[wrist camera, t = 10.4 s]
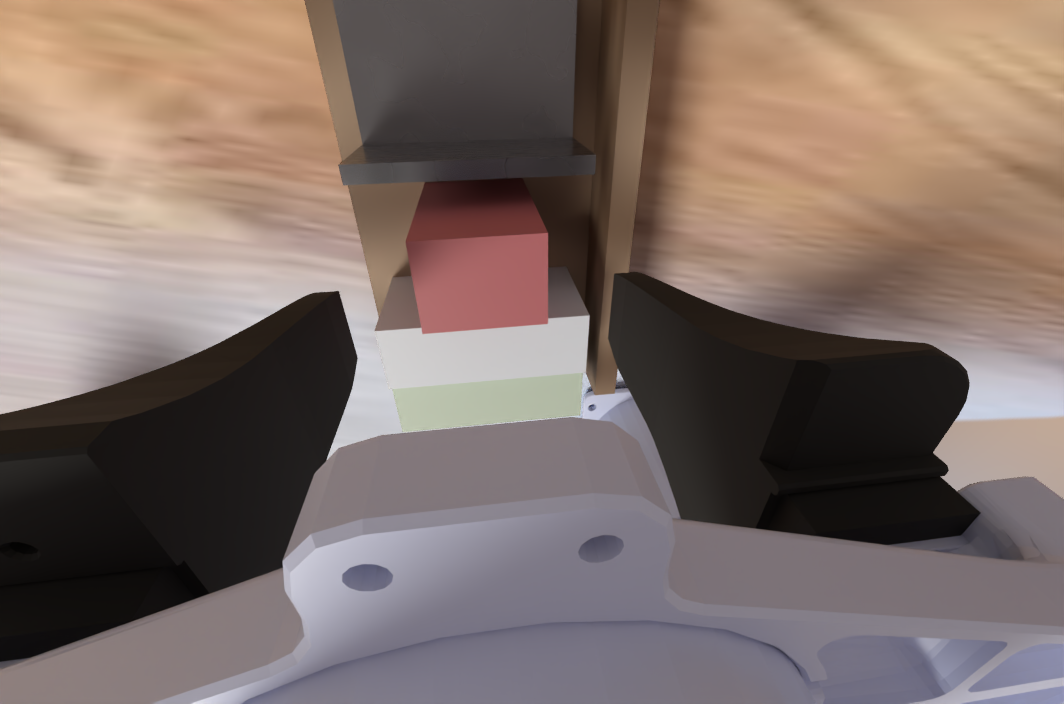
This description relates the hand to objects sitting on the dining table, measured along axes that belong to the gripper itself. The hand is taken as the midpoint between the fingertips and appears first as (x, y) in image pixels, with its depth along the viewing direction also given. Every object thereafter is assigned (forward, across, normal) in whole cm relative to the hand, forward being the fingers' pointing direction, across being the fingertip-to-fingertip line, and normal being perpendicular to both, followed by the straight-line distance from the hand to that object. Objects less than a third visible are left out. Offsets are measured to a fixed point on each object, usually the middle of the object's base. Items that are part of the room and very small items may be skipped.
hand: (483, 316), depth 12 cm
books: (+9, 0, +5) cm, 10 cm away
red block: (+9, 0, 0) cm, 9 cm away
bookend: (+9, 0, -5) cm, 10 cm away
